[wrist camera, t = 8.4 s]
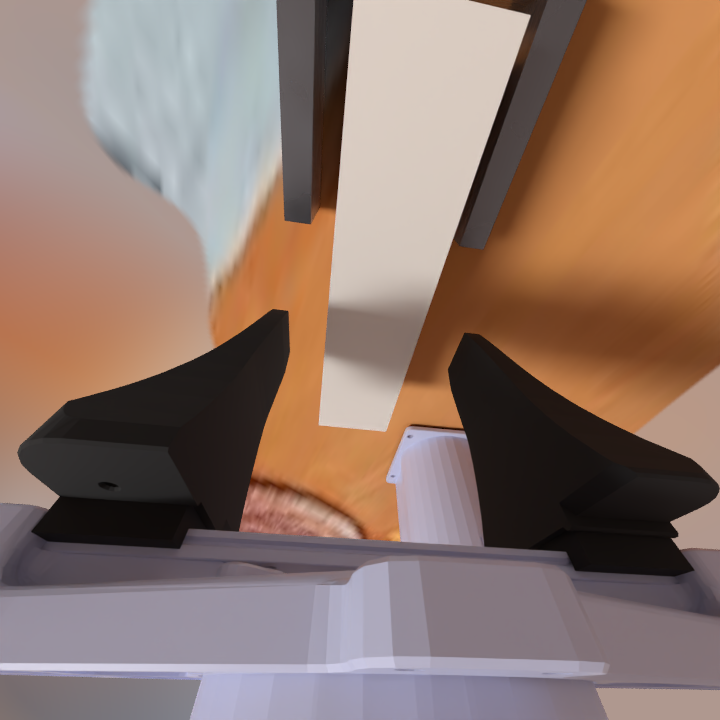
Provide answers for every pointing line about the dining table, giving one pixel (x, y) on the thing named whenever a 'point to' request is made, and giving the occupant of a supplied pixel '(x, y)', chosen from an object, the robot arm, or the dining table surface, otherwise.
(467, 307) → the dining table surface
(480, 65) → the rail
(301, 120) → the u-shaped bracket
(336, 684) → the robot arm
